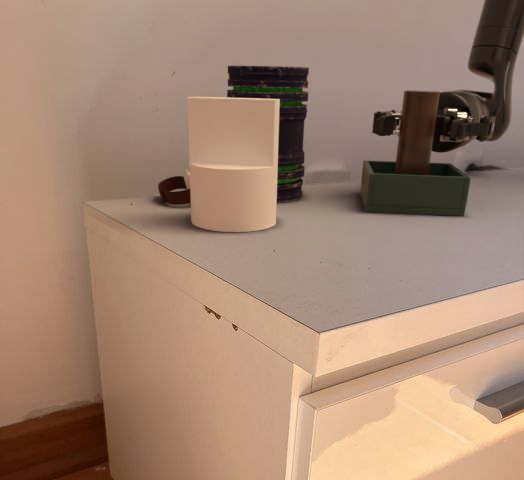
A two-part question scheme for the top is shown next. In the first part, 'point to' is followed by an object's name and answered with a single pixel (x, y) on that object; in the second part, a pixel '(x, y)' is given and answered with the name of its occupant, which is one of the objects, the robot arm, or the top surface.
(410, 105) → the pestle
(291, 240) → the top surface
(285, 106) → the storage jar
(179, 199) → the watch
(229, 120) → the cylinder with rectangular tab
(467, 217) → the top surface
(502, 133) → the robot arm
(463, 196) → the bin
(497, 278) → the top surface
